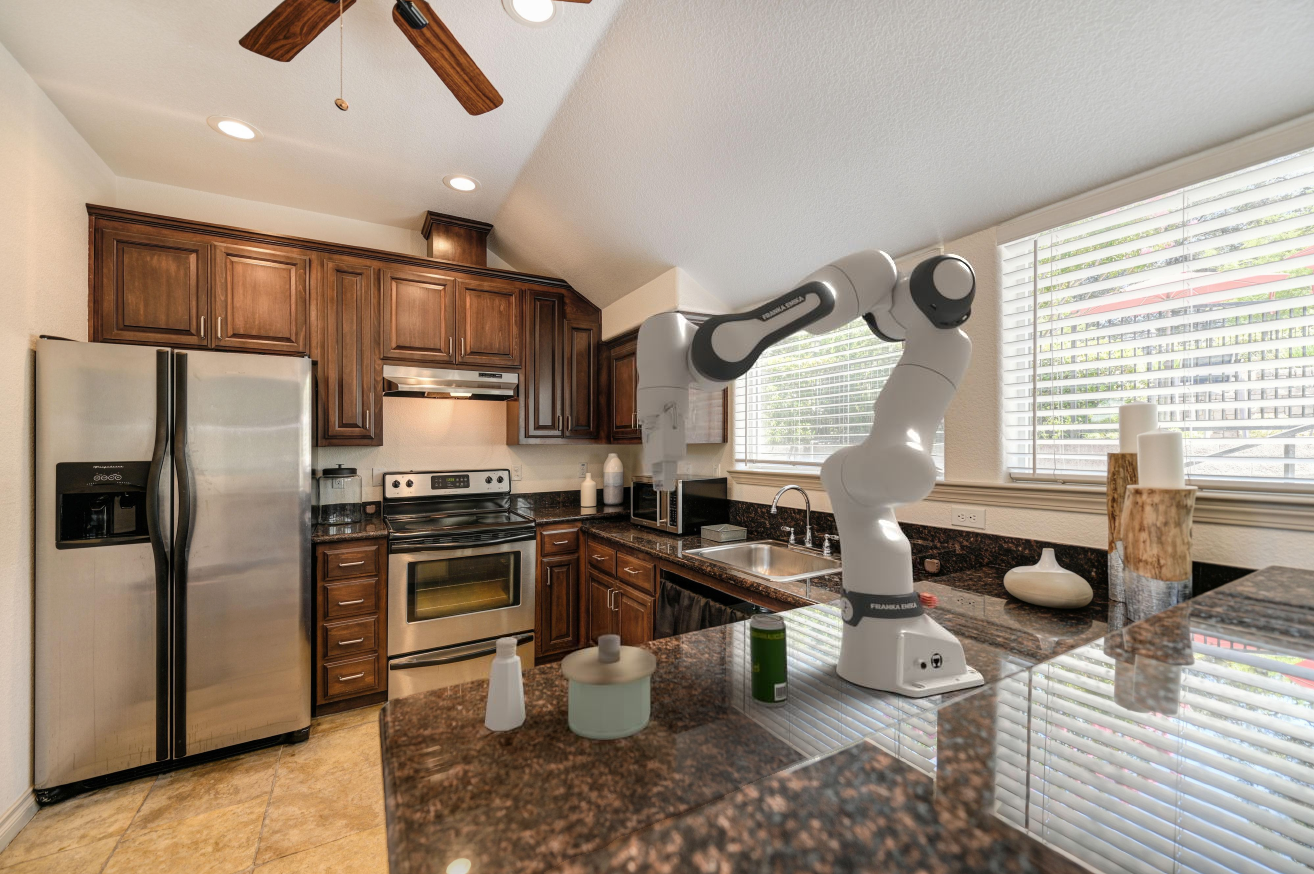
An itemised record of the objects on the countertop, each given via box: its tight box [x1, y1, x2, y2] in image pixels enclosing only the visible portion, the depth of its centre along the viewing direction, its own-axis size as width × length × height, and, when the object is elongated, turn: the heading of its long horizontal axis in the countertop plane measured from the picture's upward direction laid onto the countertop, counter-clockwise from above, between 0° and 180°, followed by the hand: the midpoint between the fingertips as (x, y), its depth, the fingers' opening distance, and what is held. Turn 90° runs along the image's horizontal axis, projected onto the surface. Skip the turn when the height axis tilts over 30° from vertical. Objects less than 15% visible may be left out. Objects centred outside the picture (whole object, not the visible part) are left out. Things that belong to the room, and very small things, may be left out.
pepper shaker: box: [484, 636, 526, 732], centre depth 72 cm, size 5×5×11 cm
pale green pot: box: [567, 675, 651, 741], centre depth 72 cm, size 11×11×7 cm
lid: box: [561, 634, 657, 685], centre depth 72 cm, size 13×13×4 cm
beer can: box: [749, 613, 789, 708], centre depth 78 cm, size 5×5×12 cm
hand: (663, 490), depth 87 cm, fingers open, 8 cm apart
